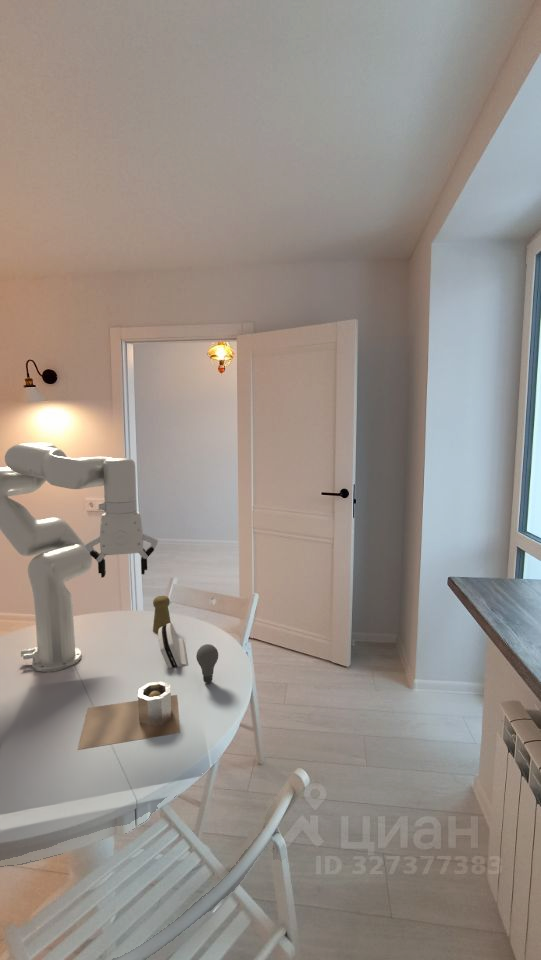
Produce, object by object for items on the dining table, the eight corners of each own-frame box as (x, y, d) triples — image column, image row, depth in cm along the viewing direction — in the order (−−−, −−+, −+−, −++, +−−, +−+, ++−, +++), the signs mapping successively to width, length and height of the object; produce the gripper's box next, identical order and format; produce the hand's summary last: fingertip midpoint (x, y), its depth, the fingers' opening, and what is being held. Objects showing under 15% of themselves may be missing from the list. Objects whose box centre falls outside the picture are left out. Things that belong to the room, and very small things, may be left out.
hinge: (188, 671, 121) (175, 639, 119) (172, 678, 120) (157, 646, 118) (184, 642, 137) (172, 614, 135) (170, 649, 136) (157, 621, 134)
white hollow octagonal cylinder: (138, 728, 95) (137, 701, 95) (139, 709, 102) (138, 684, 101) (171, 723, 97) (170, 696, 96) (170, 704, 104) (169, 680, 103)
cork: (149, 633, 144) (148, 600, 143) (157, 625, 150) (156, 593, 149) (167, 634, 143) (166, 601, 142) (174, 626, 149) (173, 594, 148)
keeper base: (77, 756, 89) (75, 722, 88) (88, 714, 103) (86, 684, 102) (180, 739, 94) (179, 707, 93) (177, 700, 108) (176, 672, 107)
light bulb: (221, 686, 114) (220, 648, 113) (199, 690, 112) (198, 652, 111) (216, 674, 119) (215, 638, 118) (195, 679, 117) (194, 642, 116)
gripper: (81, 512, 106) (84, 582, 108) (156, 508, 111) (158, 576, 113) (86, 506, 114) (89, 572, 116) (156, 504, 118) (158, 567, 120)
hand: (123, 574), depth 114 cm, fingers open, 9 cm apart
